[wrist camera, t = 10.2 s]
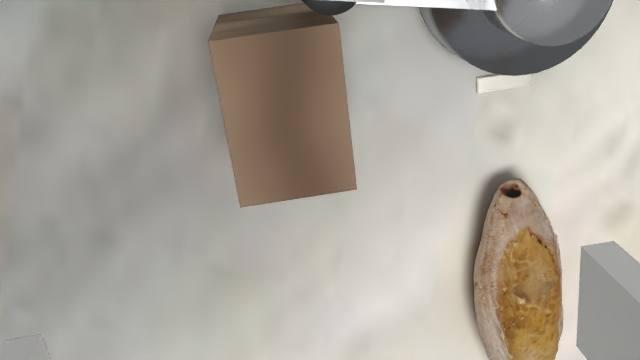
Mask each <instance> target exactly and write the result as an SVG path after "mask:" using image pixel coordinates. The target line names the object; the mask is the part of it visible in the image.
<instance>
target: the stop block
mask: <svg viewBox="0 0 640 360" xmlns="http://www.w3.org/2000/svg"><path fill="white" fill-rule="evenodd" d="M208 42H209V48H210V53H211V58H212V63H213V68H214V73H215V79H216V84H217V89H218V94H219V99H220V104H221V110H222V115H223V120H224V125H225V130H226V135H227V141H228V146H229V151H230V156H231V161H232V166H233V172H234V177H235V182H236V187H237V192H238V198H239V203H240V207H247V206H253V205H259V204H266V203H272V202H279V201H285V200H292V199H298V198H304V197H311V196H317V195H324V194H330V193H336V192H343V191H349V190H356V189H357V186H356V177H355V168H354V159H353V149H352V140H351V131H350V122H349V113H348V104H347V95H346V86H345V77H344V68H343V59H342V50H341V41H340V32H339V23H338V22H337V21H336V20H335V19H334V18H333V17H332V15H323V14H319V13H317V12H315V11H313V10H311V9H310V8H309V7H308V6H307V5H306V4H305V3H302V4H294V5H287V6H280V7H273V8H266V9H259V10H252V11H245V12H238V13H231V14H224V15H219V17H218V19H217V21H216V24H215V26H214V29H213V31H212V34H211V36H210V39H209V41H208Z"/></svg>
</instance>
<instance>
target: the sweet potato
mask: <svg viewBox="0 0 640 360" xmlns="http://www.w3.org/2000/svg"><path fill="white" fill-rule="evenodd" d="M473 280H474V303H475V312H476V319H477V324H478V330H479V333H480V336H481V340H482V342H483V345H484V347H485V349H486V352H487V355H488V358H489V359H490V360H554V359H555V356H556V353H557V351H558V343H559V340H560V336H561V333H562V329H563V306H562V269H561V261H560V249H559V245H558V243H557V236H556V234H555V233H554V232H553V229H552V226H551V224H550V221H549V219H548V217H547V216H546V214H545V212H544V210H543V209H542V207H541V205H540V203H539V201H538V199H537V197H536V195H535V194H534V193H533V191H532V190H531V189H530V188H529V186H528V185H527V184H526V183H525V182H524V181H522V180H521V179H512V180H508V181H506V182H504V183H503V184H502V185H500V186H499V188H498V189H497V191H496V193H495V195H494V197H493V199H492V201H491V204H490V206H489V209H488V212H487V216H486V219H485V222H484V226H483V232H482V238H481V242H480V245H479V248H478V252H477V256H476V259H475V267H474V275H473Z"/></svg>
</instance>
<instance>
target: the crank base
mask: <svg viewBox="0 0 640 360" xmlns="http://www.w3.org/2000/svg"><path fill="white" fill-rule="evenodd" d="M612 2H613V1H612ZM611 5H612V3H611ZM611 5H610V7H611ZM610 7H609V9H610ZM419 8H420V11H421V14H422V16H423V19H424V21H425V23H426V25H427V26H428V28H429V30H430V31H431V33H432V34H433V35H434V37H435V38H436V39H437V40H438V41H439V42H440V43H441V44H442V45H443V46H444V47H445V48H447V49H448V50H449V51H451V52H452V53H454V54H455V55H457V56H459V57H460V58H462V59H464V60H465V61H467V62H469V63H470V64H472V65H474V66H476V67H478V68H480V69H482V70H485V71H487V72H490V73H494V74H499V75H492V76H485V77H478V78H476V84H477V93H485V92H492V91H499V90H506V89H512V88H519V87H526V86H532V85H533V73H538V72H541V71H543V70H546V69H549V68H551V67H553V66H555V65H557V64H559V63H561V62H563V61H564V60H566V59H567V58H569V57H571V56H572V55H573V54H574V53H576V52H577V51H578V50H579V49H581V48H582V47H583V46H584V45H585V44H586V43H587V42H588V40H589V39H590V38H591V37H592V36H593V35H594V33H595V32H596V31H597V30H598V28H599V27H600V25H601V23H602V22H603V20H604V19H605V17H606V15H607V13H608V11H609V9H608V11H607V12H606V14H605V15H604V17H603V18H602V20H601V21H600V22H599V23H598V24H597V25H596V26H595V27H594V28H593V29H592V30H591V31H590V32H588V33H587V34H586V35H584V36H583V37H581V38H579V39H578V40H575V41H573V42H571V43H568V44H564V45H560V46H541V45H537V44H533V43H531V42H528V41H526V40H523V39H521V38H518V37H516V36H513V35H511V34H508V33H506V32H504V31H501V30H500V29H498V28H496V27H495V26H494V25H493V24H492V23H491V22H490V21H489V20H488V19H487V18H486V16H485V15H484V13H483V11H482V10H476V9H456V8H436V7H419Z"/></svg>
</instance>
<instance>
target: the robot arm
mask: <svg viewBox="0 0 640 360" xmlns="http://www.w3.org/2000/svg"><path fill="white" fill-rule="evenodd" d="M576 346H577V347H578V348H579V349H580V351H581V352H582V353H583V355H584V356H585V357H586V358H587V360H640V263H639V262H638V261H636V260H635V259H634V258H633V257H632V256H631V255H629V254H628V253H627V252H626V251H625V250H624V249H622V248H621V247H620V246H619V245H618V244H617V243H615V242H614V241H612V242H606V243H599V244H593V245H587V246H581V260H580V281H579V302H578V323H577V345H576ZM0 360H51V357H50V354H49V351H48V349H47V346H46V343H45V340H44V338H43V335H42V334H39V335H33V336H27V337H21V338H15V339H8V340H6V341H5V343H4V345H3V346H2V348H1V350H0Z"/></svg>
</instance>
